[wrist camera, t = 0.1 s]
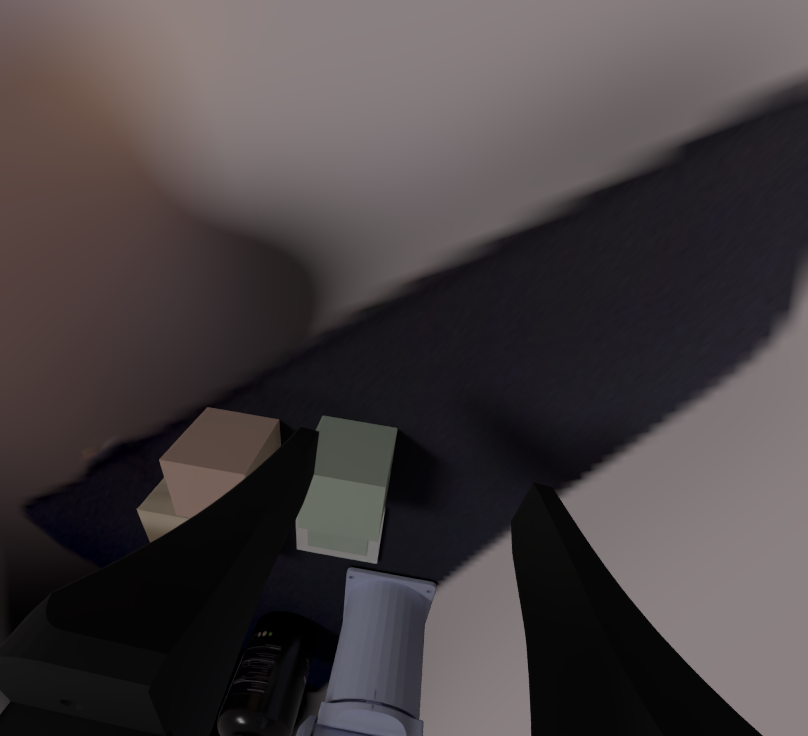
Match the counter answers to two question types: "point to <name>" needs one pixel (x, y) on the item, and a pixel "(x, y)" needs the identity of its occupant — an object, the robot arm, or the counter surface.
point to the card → (338, 544)
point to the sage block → (349, 479)
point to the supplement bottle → (270, 678)
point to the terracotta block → (216, 457)
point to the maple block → (159, 512)
